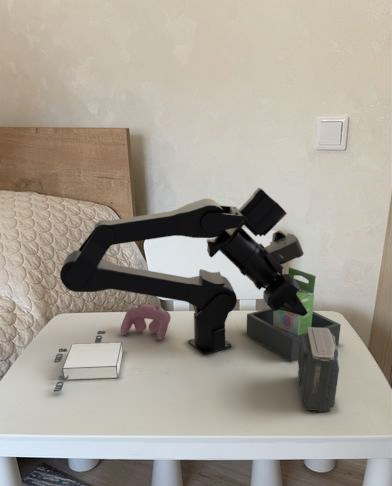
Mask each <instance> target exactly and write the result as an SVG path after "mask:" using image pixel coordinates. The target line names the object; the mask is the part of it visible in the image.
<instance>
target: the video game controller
mask: <svg viewBox="0 0 392 486" xmlns="http://www.w3.org/2000/svg"><path fill="white" fill-rule="evenodd" d="M123 317H124V318H123V320H122V323H121V325H120V333H121V335H122V336H125V335H127V334H128V333H129V331H130V330H131V328H132V327H133V325H134V329H135V330H136V331H138V332H143V331H145V330H146V329H147V327H148V331H149V332H150V333H153V334H157V338H158V341H162V340H164V338H165V337H166V335H167V333H168V330H169V329H168V328H169V324H170V322H171V314H170V312H168V310H165V309H164V308H162V307H160V306H157V305H153V304H144V303H143V304H135V305H132V306H130V308H128V309H127V310H126V313H125V316H123ZM145 319H146V320H151V322H150V323H149V324H148V326H147V322H146V320H145Z"/></svg>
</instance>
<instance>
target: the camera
mask: <svg viewBox="0 0 392 486" xmlns="http://www.w3.org/2000/svg"><path fill="white" fill-rule="evenodd" d="M297 365H298V371H297V376H298V385H299V388H300V389H299V390H300V395H301V398H302V399H303V401H304V406H305V407H306V409H307V411H310V410H313V411H317V412H320V413H321V412H330V411H333V410H334V409H335V403H336V402H335V401H336V395H337V387H338V379H339V373H340V365H339V350H338V346H336V343H335V337H334V336H333V334H331V332H330V330H329V329H327V328H315V327H308V328H307V329H306V334H305V335H304V336H300V342H299V353H298V360H297Z"/></svg>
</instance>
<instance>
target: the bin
mask: <svg viewBox="0 0 392 486" xmlns="http://www.w3.org/2000/svg"><path fill="white" fill-rule="evenodd" d="M273 313H274V311H273V310H272V309H271V308H270V307H267V308H264V309H261V310H256V311H252V312H250V313H246V335H247V336H248V337H250V338H251V339H253V340H254V341H256V342H258V343H260V344H262V345H263V346H264V347H266V348H268V349H270V350H271V351H273V352H275V353H276V354H277V355H279V356H281V357H282V358H283V359H285V360H287V361H289V362H291V363H292V362H294V361H298V353H299V342H300V336H304V335H305V334H306V333H304V334H301V335H298V336H295V337H292V336H290V335H288V334H287V333H285V332H283V331H281V330H279V329H278V328H276V327H274V326H273ZM311 327H315V328H327V329H329V330H330V332H331V334H333V336H334V337H335V343H336V346H337V347H338V346H339V344H340V343H339V342H340V335H341V334H340V333H341V323H338V322H336V321H335V320H332V319H331V318H328V317H327V316H324V315H322V314H319V313H318V312H315V311H314V310H313V313H312V323H311Z"/></svg>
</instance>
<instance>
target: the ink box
mask: <svg viewBox="0 0 392 486" xmlns="http://www.w3.org/2000/svg"><path fill="white" fill-rule="evenodd" d="M287 271H288V273H287V274H289V275H290V276H291V277H292V278H293V279H294V280H295V281H296V282H297V284H298V285H299V286H300V289H299V291H298V292H297V296H298V298H299V299H300V301H301V302H302V304H303V305H304V307H305V309H306V310H307V312H308V313H307V314H306V315H305V316H301V315H298V314H294V313H291V312H287V311H283V310H277V311H274V313H273V326H274V327H276V328H278V329H279V330H281V331H283V332H285V333H287V334H288V335H290V336H292V337H295V336H298V335H301V334H304V333H306V329H307V328H308V327H311V323H312V313H313V311H314V300H315V287H316V286H315V285H316V275H314V274H311V273H308V272H305V271H302V270H299V269H296V268H293V267H290V266H289V267H288V270H287ZM295 276H299V277H302V278H304V279H305V280H307V281H308V283H307V282H304V281H302V280H300V279H297V278H295Z"/></svg>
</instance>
